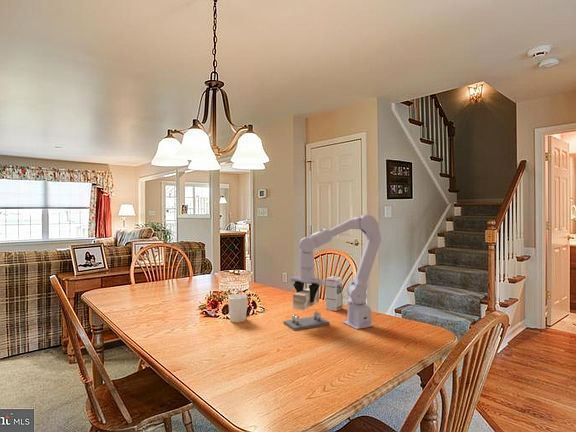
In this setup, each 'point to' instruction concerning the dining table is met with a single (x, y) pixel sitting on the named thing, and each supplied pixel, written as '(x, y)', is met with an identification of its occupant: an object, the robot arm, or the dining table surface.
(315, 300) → the white blocky piece
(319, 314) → the peg stand
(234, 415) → the dining table surface
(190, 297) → the dining table surface
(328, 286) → the syrup box
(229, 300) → the white cup
